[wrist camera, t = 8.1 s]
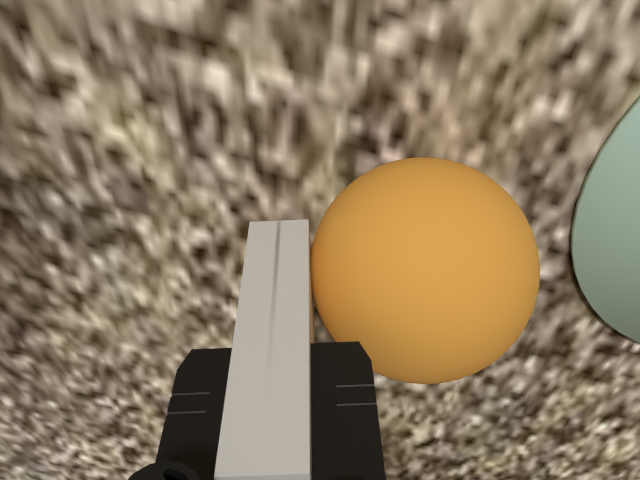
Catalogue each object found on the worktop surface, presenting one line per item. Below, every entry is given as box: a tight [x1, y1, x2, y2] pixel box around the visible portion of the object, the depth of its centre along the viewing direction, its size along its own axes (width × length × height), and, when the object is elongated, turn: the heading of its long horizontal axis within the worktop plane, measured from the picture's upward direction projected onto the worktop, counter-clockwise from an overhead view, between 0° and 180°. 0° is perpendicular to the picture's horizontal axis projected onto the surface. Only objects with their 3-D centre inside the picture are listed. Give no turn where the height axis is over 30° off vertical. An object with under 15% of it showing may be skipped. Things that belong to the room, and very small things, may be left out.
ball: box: [310, 157, 540, 384], centre depth 14 cm, size 6×6×6 cm
